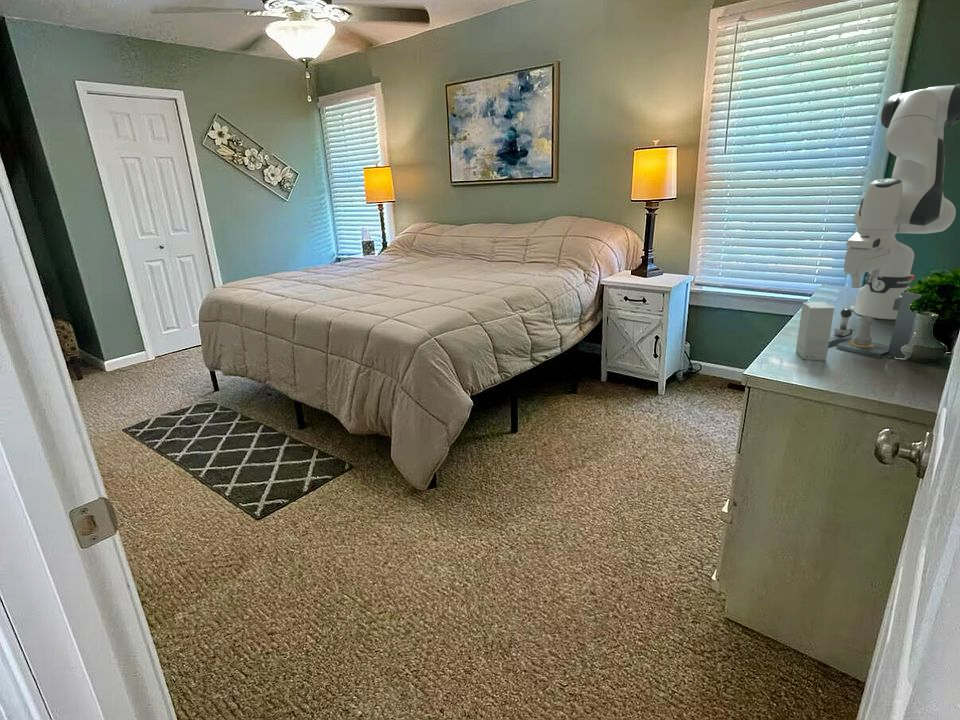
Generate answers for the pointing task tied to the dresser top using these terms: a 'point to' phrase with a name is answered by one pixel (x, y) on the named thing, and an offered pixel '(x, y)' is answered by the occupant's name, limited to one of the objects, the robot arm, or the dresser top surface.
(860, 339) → the rook chess piece
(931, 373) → the dresser top surface
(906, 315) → the press
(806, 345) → the skincare box
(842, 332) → the lever
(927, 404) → the dresser top surface
